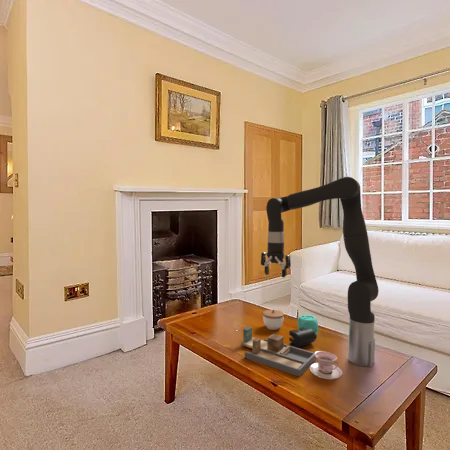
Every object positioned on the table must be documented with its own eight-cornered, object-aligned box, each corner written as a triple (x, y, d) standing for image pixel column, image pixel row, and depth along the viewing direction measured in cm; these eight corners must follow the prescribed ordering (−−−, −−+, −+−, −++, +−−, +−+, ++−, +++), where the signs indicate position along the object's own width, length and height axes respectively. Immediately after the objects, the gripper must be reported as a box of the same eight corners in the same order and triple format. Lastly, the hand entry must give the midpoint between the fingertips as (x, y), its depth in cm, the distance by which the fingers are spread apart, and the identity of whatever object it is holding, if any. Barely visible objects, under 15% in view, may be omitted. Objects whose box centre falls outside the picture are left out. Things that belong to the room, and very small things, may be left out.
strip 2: (302, 366, 122) (302, 350, 122) (296, 371, 118) (297, 354, 118) (257, 351, 134) (257, 336, 134) (251, 356, 130) (251, 341, 130)
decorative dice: (318, 336, 152) (318, 320, 152) (301, 336, 152) (301, 320, 152) (313, 330, 160) (313, 314, 160) (297, 330, 160) (297, 314, 160)
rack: (316, 359, 130) (316, 353, 130) (299, 376, 116) (299, 370, 116) (264, 343, 144) (264, 338, 144) (244, 357, 131) (244, 351, 131)
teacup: (303, 371, 121) (303, 355, 121) (319, 360, 129) (320, 345, 129) (332, 384, 112) (332, 367, 112) (348, 372, 120) (348, 356, 120)
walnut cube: (283, 348, 136) (283, 336, 135) (277, 352, 132) (278, 340, 131) (272, 344, 139) (273, 333, 138) (267, 349, 135) (267, 337, 134)
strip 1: (290, 350, 135) (290, 335, 135) (281, 357, 129) (282, 342, 129) (250, 338, 147) (250, 325, 147) (240, 344, 141) (241, 330, 140)
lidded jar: (283, 332, 157) (284, 313, 157) (262, 331, 159) (262, 312, 158) (283, 324, 168) (283, 307, 167) (262, 323, 169) (263, 306, 169)
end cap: (299, 350, 138) (299, 335, 137) (288, 344, 144) (288, 329, 143) (315, 345, 143) (316, 330, 143) (304, 339, 149) (304, 325, 149)
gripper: (293, 241, 145) (292, 276, 146) (266, 239, 154) (265, 272, 155) (286, 243, 139) (285, 279, 140) (258, 240, 148) (257, 275, 149)
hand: (275, 275), depth 148 cm, fingers open, 8 cm apart
